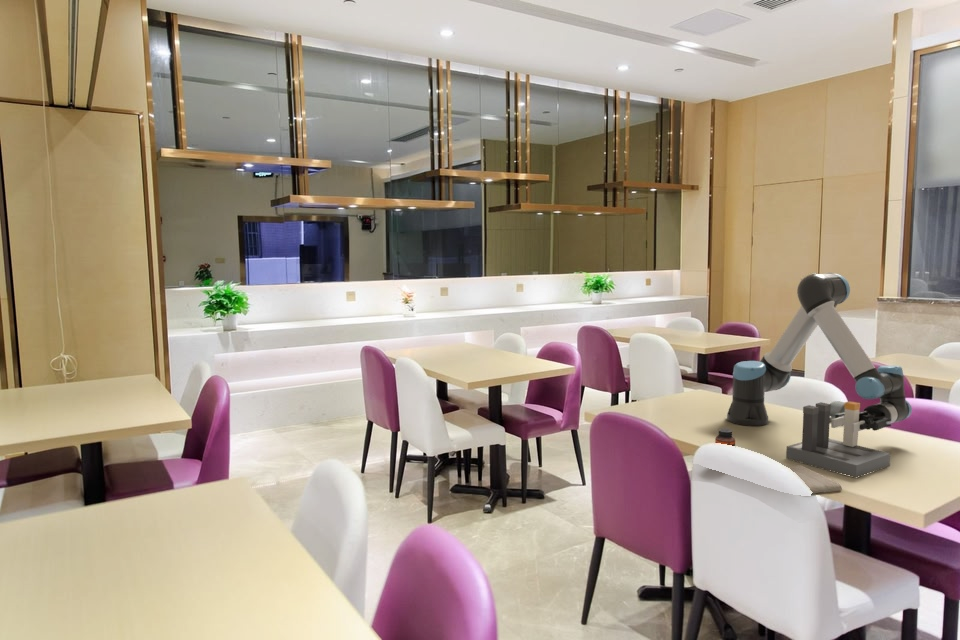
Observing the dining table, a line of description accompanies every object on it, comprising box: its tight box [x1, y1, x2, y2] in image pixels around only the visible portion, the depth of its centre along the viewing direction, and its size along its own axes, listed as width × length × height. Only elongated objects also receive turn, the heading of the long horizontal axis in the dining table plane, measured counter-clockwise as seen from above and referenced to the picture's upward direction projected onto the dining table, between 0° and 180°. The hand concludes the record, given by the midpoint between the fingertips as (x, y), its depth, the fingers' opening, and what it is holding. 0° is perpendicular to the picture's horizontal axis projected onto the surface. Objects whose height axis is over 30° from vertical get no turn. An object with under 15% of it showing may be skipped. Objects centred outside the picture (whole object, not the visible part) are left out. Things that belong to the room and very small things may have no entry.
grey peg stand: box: [785, 401, 891, 478], centre depth 201 cm, size 22×20×18 cm
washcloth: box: [787, 464, 843, 495], centre depth 185 cm, size 12×18×3 cm, turn 13°
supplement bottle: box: [714, 428, 736, 447], centre depth 200 cm, size 6×6×11 cm
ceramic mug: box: [829, 400, 846, 422], centre depth 251 cm, size 11×8×8 cm
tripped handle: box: [842, 400, 861, 447], centre depth 205 cm, size 3×3×14 cm
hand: (842, 425), depth 202 cm, fingers open, 6 cm apart
